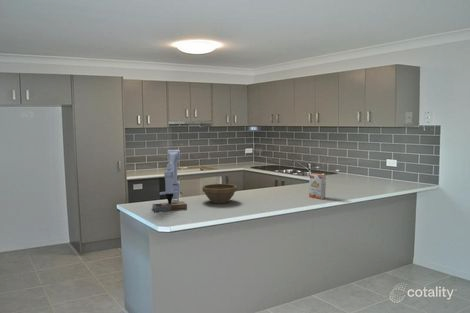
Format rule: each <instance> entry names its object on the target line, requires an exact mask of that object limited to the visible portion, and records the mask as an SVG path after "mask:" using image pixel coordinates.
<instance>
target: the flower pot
mask: <svg viewBox="0 0 470 313" xmlns="http://www.w3.org/2000/svg"><path fill="white" fill-rule="evenodd" d="M237 191H238V187H237V185H236V184H232V183H231V184H230V183H212V184H205V185H203V186H202V192H203V193H204V194H205V196H206V197H207V198H208V200H209V201H210V202H211V203H214V204H225V203H228V202H229V201H230V200H231V199H232V197H233V196H234V195H235V193H236V192H237Z"/></svg>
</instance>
